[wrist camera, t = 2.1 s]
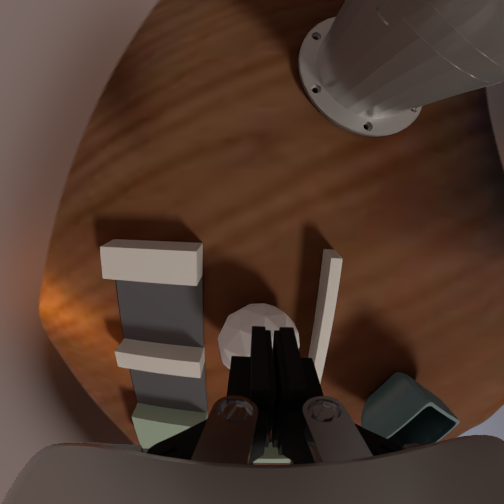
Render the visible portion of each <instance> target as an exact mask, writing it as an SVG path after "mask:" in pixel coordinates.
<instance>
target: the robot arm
mask: <svg viewBox="0 0 504 504" xmlns="http://www.w3.org/2000/svg"><path fill="white" fill-rule="evenodd" d="M313 38H316V39H317V40H315V39H313ZM298 71H299V76H300V81H301V83H302V86H303V88H304V91H305V93H306V94H307V96H308V97H309V99H310V101H311V102H312V104H313V105H314V106H315V107H316V108H317V109H318V110H319V112H320V113H321V114H322V115H324V116H325V117H326V118H327V119H328V120H330V121H331V122H332V123H334V124H336V125H337V126H339V127H341V128H342V129H344V130H347V131H350V132H352V133H355V134H359V135H363V136H375V137H380V136H385V135H390V134H393V133H397V132H399V131H401V130H403V129H405V128H406V127H408V126H409V125H410V124H411V123H412V122H413V121H414V120H415V119H416V118H417V116H418V115H419V113H420V111H421V108H422V106H423V105H426V104H429V103H432V102H435V101H438V100H441V99H445V98H448V97H451V96H454V95H458V94H461V93H464V92H468V91H471V90H475V89H478V88H482V87H486V86H490V85H493V84H497V83H501V82H504V0H345V2H344V4H343V5H342V7H341V9H340V11H339V13H338V14H337V16H336V17H332V18H328V19H326V20H324V21H322V22H320V23H318V24H317V25H316V26H315V27H313V28H312V29H311V30H310V31H309V33H308V34H307V35H306V37H305V38H304V40H303V43H302V45H301V48H300V52H299V56H298ZM312 89H316V90H317V93H314V92H313V91H312ZM363 125H366V126H367V130H365V129H364V126H363ZM271 431H272V446H273V447H278V455H284V456H285V457H287V458H288V459H290V464H289V465H253V462H254V461H255V460H257V459H258V458H260V457H261V456H263V455H264V450H265V447H268V446H269V440H270V433H271ZM2 504H504V441H503V440H501V439H500V438H497V437H494V436H488V435H472V436H463V437H457V438H452V439H448V440H444V441H440V442H432V443H414V444H405V445H404V446H403V447H401V446H400V445H399V444H397V443H395V442H394V441H391V440H389V439H387V438H385V437H382V436H380V435H378V434H376V433H374V432H371V431H369V430H367V429H365V428H363V427H361V426H359V425H357V424H355V423H354V422H353V420H352V419H351V417H350V415H349V413H348V412H347V410H346V408H345V407H344V405H343V404H342V403H341V402H340V401H338V400H337V399H334V398H332V397H327V396H323V393H322V389H321V386H320V382H319V379H318V375H317V372H316V368H315V365H314V362H313V359H312V358H301V357H300V353H299V349H298V345H297V340H296V336H295V332H294V328H293V327H280V328H279V330H274V338H273V348H272V340H271V330H266V328H265V327H264V326H252V335H251V353H250V357H246V356H232V357H231V365H230V373H229V382H228V390H227V396H226V397H223V398H220V399H219V400H218V401H216V402H215V404H214V405H213V407H212V409H211V412H210V414H209V417H208V419H206V420H204V421H202V422H200V423H198V424H196V425H194V426H192V427H190V428H188V429H186V430H184V431H182V432H180V433H178V434H176V435H174V436H172V437H170V438H167V439H165V440H163V441H161V442H159V443H156V444H155V445H153V446H152V447H150V448H142V445H121V444H120V445H119V444H107V443H96V442H83V443H59V444H53V445H50V446H47V447H45V448H43V449H41V450H40V451H39V452H37V453H36V454H35V455H34V456H33V457H32V458H31V459H30V460H29V462H28V463H27V464H26V465H25V467H24V468H23V469H22V471H21V472H20V473H19V475H18V477H17V478H16V480H15V481H14V483H13V484H12V487H11V488H10V489H9V491H8V493H7V494H6V496H5V498H4V500H3V502H2Z"/></svg>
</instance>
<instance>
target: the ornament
mask: <svg viewBox="0 0 504 504" xmlns="http://www.w3.org/2000/svg"><path fill="white" fill-rule="evenodd" d="M252 326H264V327H265V328H266V330H271V340H272V348H273V338H274V330H279V328H280V327H293V328H294V332H295V336H296V340H297V345H298V349H299V347H300V343H299V333H298V330H297V328H296V326H295V324H294V322H293V321H292V320H291V319H290V318H289V317H288V316H287V315H286V314H285V313H284V312H283V311H281V310H280V309H278V308H277V307H275V306H272V305H268V304H265V303H260V304H249V305H247V306H245V307H243V308H241V309H240V310H238V311H236V312H234V313H232V314H230V315H229V316H228V317H227V319H226V322H225V324H224V326H223V328H222V330H221V332H220V334H219V336H218V343H219V348H220V353H221V358H222V362H223V364H224V365H225V366H226V367H228V368H229V369H230V365H231V357H232V356H246V357H250V353H251V335H252Z"/></svg>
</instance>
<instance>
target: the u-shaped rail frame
mask: <svg viewBox="0 0 504 504" xmlns="http://www.w3.org/2000/svg"><path fill="white" fill-rule="evenodd" d="M100 254H101V264H102V274H103V278H104V279H114V280H116V284H117V293H118V301H119V308H120V315H121V322H122V329H123V335H124V339H123V341H122V342H121V343H120V345H119V346H118V347H117V349H116V350H115V355H116V359H117V364H118V367H123V368H129V369H130V371H131V376H132V381H133V385H134V389H135V393H136V398H137V402H138V403H137V406H136V408H135V410H134V412H133V414H132V420H133V424H134V427H135V430H136V433H137V436H138V439H139V442H140V445H142V448H150V447H152V446H153V445H155V444H156V443H159V442H161V441H163V440H165V439H167V438H170V437H172V436H174V435H176V434H178V433H180V432H182V431H184V430H186V429H188V428H190V427H192V426H194V425H196V424H198V423H200V422H202V421H204V420H206V419H208V413H207V397H206V378H205V356H204V325H203V243H193V242H170V241H148V240H124V239H113V240H111V241H110V242H108V243H106V244H104V245H102V246H100ZM342 260H343V259H342V258H341V256H340V255H339V254H338V253H337V252H336V251H335V250H333V249H323V257H322V266H321V274H320V282H319V290H318V297H317V304H316V311H315V318H314V325H313V331H312V337H311V343H310V349H309V355H308V358H312V359H313V362H314V365H315V368H316V372H317V375H318V379H319V382H321V378H322V373H323V369H324V364H325V359H326V354H327V350H328V345H329V340H330V334H331V329H332V324H333V318H334V312H335V306H336V300H337V294H338V288H339V281H340V274H341V267H342ZM289 462H290V459H288V458H287V457H285V456H284V455H278V447H273V446H272V442H269V446H268V447H265V450H264V455H263V456H261V457H260V458H258V459H257V460H255V461H254V463H289Z"/></svg>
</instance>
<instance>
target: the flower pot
mask: <svg viewBox="0 0 504 504" xmlns="http://www.w3.org/2000/svg"><path fill="white" fill-rule="evenodd" d="M459 422H460V421H459V420H458V418H457V417H456V416H455V415H454V414H453V413H452V412H451V411H450V409H449V408H448V407H447V406H446V405H445V404H444V403H443V402H442V401H441V400H440V399H439V398H438V397H437V396H436V395H434V394H433V393H432V392H430V391H429V390H427V389H426V388H425V387H423V386H422V385H420V384H419V383H418V382H416V381H415V380H414V379H413V378H411V377H410V376H408V375H406V374H404V373H400V372H396V373H394V374H393V375H392V376H391V377H390V378H389V379H388V380H387V381H386V382H385V383H384V384H383V385H381V386H380V387H379V388H378V389H377V390H376V391H375V392H374V393H372V394H371V395H370V396H369V397H368V399H367V401H366V403H365V406H364V408H363V412H362V417H361V427H363V428H365V429H367V430H369V431H371V432H374V433H376V434H378V435H380V436H382V437H385V438H387V439H389V440H391V441H394V442H395V443H397V444H399V445H400V446H401V447H403V446H404V445H405V444H414V443H432V442H438V441H439V440H440V439H442V438H443V437H444V436H445V435H447V434H448V433H449V432H450V431H451V430H452V429H453V428H455V427H456V426H457V424H458V423H459Z"/></svg>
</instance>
